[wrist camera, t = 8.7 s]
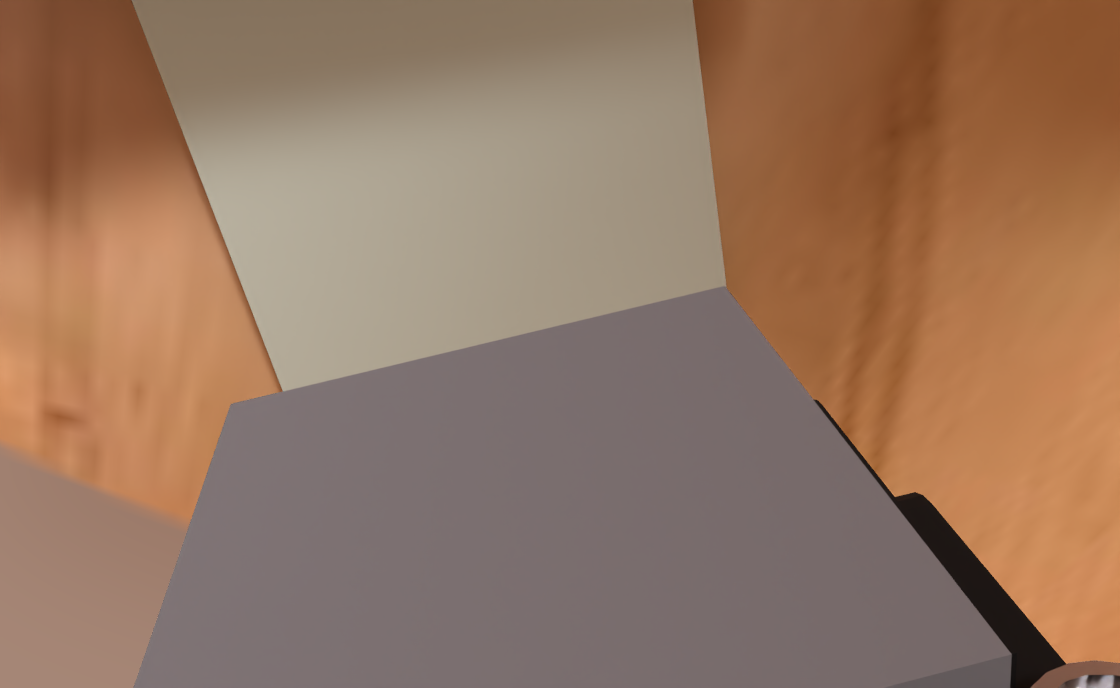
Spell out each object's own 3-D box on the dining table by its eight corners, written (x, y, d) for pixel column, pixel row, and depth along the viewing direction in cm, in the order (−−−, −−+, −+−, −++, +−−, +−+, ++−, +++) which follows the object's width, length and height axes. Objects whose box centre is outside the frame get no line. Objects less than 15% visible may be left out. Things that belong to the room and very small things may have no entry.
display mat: (664, -166, 24) (672, -168, 23) (723, 316, 30) (731, 326, 30) (122, -48, 23) (113, -46, 23) (301, 417, 30) (297, 430, 29)
